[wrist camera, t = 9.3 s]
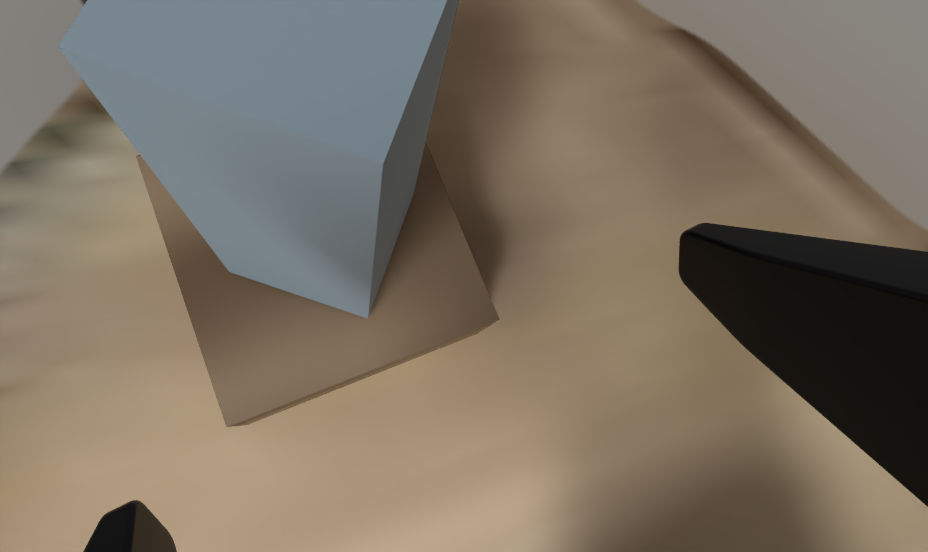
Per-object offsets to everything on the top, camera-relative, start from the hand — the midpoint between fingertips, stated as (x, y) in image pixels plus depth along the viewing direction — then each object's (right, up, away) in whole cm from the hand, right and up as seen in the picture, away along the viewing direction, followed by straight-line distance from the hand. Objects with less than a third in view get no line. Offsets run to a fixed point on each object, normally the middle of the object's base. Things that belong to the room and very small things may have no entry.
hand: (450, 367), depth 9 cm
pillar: (-4, +3, +10) cm, 11 cm away
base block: (-5, +2, +14) cm, 15 cm away
